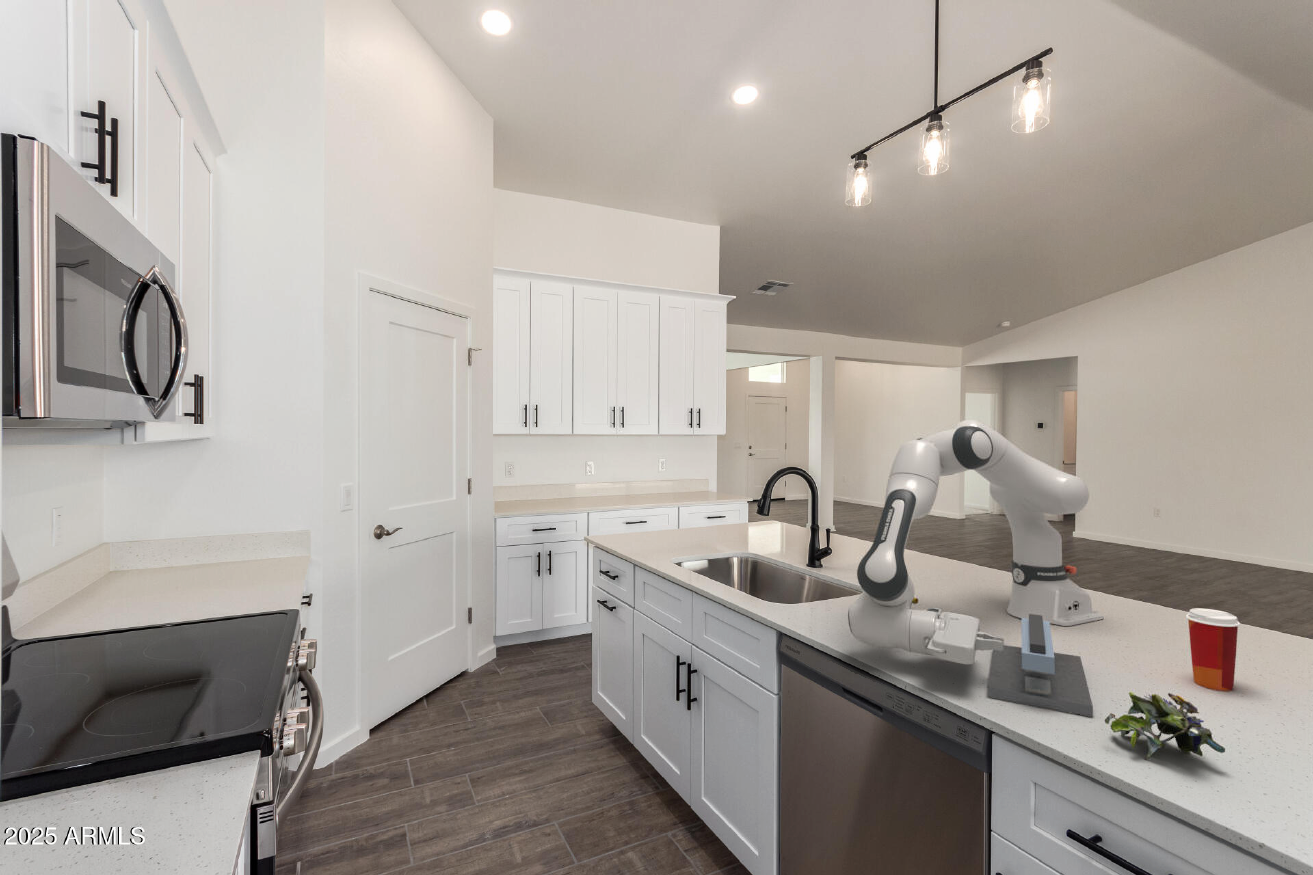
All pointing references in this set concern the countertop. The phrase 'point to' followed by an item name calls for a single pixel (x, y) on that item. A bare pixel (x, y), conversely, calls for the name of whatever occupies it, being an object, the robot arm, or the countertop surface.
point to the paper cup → (1213, 647)
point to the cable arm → (1037, 645)
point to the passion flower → (1164, 724)
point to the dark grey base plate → (1040, 682)
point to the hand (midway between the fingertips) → (1003, 644)
